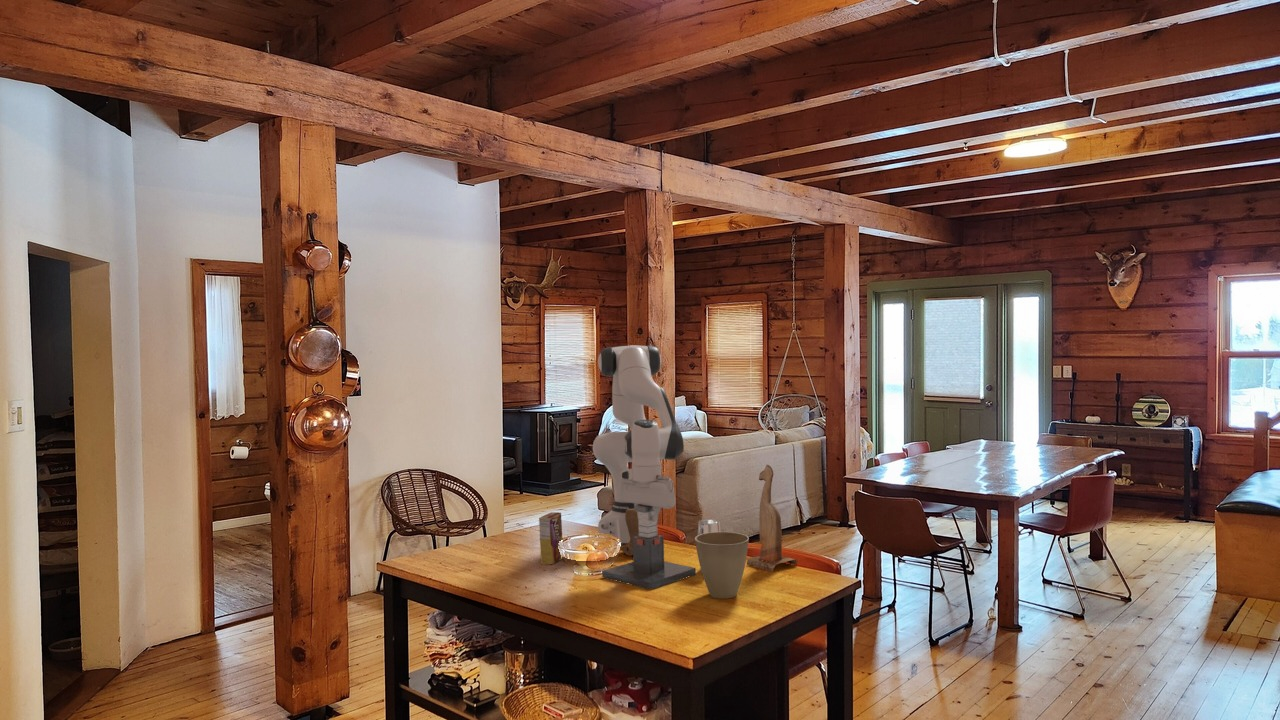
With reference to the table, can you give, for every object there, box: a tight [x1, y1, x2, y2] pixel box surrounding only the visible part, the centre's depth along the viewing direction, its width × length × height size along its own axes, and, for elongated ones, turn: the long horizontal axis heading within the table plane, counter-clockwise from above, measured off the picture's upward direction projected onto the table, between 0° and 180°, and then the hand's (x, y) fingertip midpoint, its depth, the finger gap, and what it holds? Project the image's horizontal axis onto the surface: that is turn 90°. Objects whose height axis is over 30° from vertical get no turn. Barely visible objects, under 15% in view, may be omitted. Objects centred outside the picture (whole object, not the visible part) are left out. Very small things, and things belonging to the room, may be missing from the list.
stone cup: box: [620, 509, 639, 556], centre depth 279 cm, size 15×12×15 cm
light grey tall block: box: [634, 505, 658, 539], centre depth 248 cm, size 4×7×19 cm, turn 136°
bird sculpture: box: [746, 464, 798, 573], centre depth 257 cm, size 11×12×32 cm
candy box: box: [538, 511, 563, 565], centre depth 269 cm, size 9×4×15 cm, turn 160°
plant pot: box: [694, 531, 750, 600], centre depth 227 cm, size 15×15×16 cm
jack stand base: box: [601, 534, 697, 591], centre depth 248 cm, size 20×20×12 cm
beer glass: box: [697, 518, 722, 571], centre depth 254 cm, size 7×7×15 cm
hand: (647, 519), depth 248 cm, fingers closed on light grey tall block, 4 cm apart
